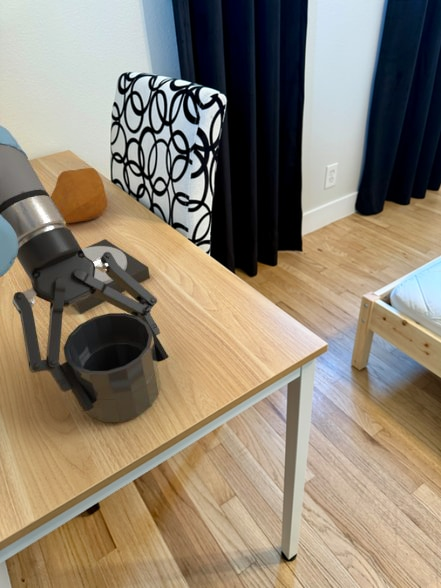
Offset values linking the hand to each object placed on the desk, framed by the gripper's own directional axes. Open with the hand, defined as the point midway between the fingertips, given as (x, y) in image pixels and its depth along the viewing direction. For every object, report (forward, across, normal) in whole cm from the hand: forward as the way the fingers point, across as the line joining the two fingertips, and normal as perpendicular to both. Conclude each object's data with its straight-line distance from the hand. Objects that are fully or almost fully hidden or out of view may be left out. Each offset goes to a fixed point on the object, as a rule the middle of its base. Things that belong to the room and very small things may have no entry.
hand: (128, 383), depth 57 cm
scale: (-18, -12, -24) cm, 32 cm away
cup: (+1, 0, -5) cm, 5 cm away
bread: (-37, -24, -43) cm, 62 cm away
